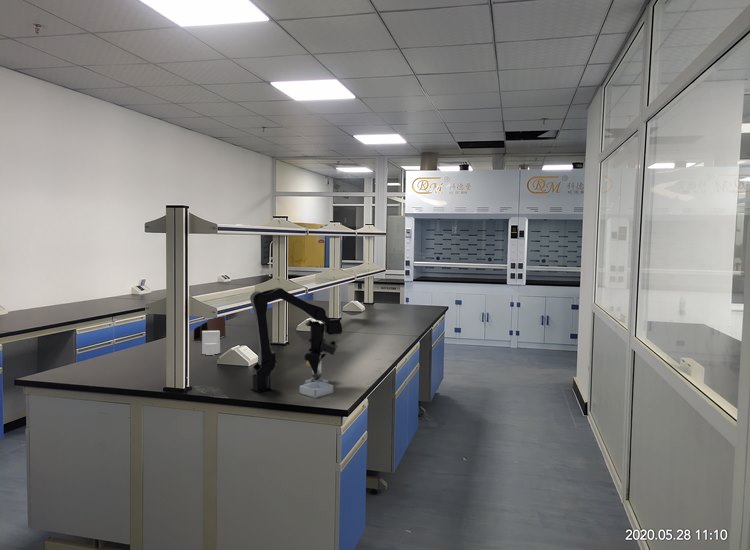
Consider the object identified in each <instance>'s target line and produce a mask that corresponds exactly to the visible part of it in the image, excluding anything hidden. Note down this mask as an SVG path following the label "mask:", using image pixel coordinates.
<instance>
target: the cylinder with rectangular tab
mask: <svg viewBox="0 0 750 550" xmlns="http://www.w3.org/2000/svg"><path fill="white" fill-rule="evenodd" d="M201 351H202V352H201V354H206V355H213V356H215V355H214V354H218V353H220V354H221V339H220V331H202V342H201Z"/></svg>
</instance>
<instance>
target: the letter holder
mask: <svg viewBox="0 0 750 550" xmlns="http://www.w3.org/2000/svg"><path fill="white" fill-rule="evenodd" d="M222 316H223V317H218V318H214V319H211V318H209V319H208V320H207V321H205V322H203V323H202V324H200V325H198V326H196V327H195V328H193V342H194V341H202V331H220V337H222V336H225V335H226V317H225V315H222Z"/></svg>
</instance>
